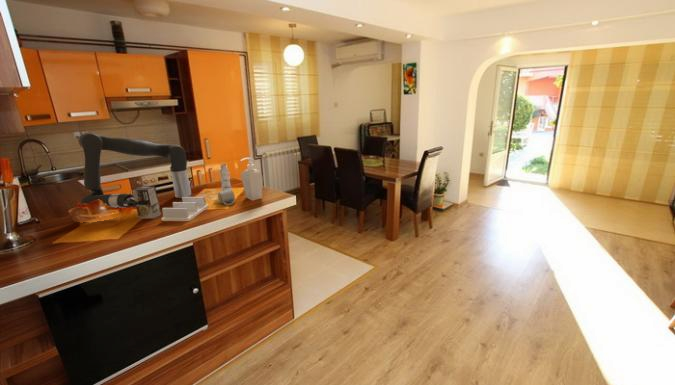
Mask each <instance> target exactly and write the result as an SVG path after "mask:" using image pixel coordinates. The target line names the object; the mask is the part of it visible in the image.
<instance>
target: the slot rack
mask: <svg viewBox="0 0 675 385" xmlns="http://www.w3.org/2000/svg"><path fill="white" fill-rule="evenodd" d="M181 199H182V201H179V202H178V201H173V202H172V207H162V209H161V211H162V215H163V217H161V218H160V219H161V222H190V221H192V220H194V218H196V217H197V216H198V215H200V214H201V213H202V212H204V211H205V210H207V209H208V208H209V204H206V203H207V202H206V197H205V196H188V197H182V198H181Z"/></svg>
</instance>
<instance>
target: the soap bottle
mask: <svg viewBox="0 0 675 385" xmlns="http://www.w3.org/2000/svg"><path fill="white" fill-rule="evenodd" d="M245 160H248V162H247V163H248V164H246V167H247V168H246V169H244V170H243V171H242V172H241V174H240V178H241V181H242V186H243V189H244V194H245V198H246V199H248V200H250V201H255V200H260V199H263V178H264V177H263V175H262V172H261V171H260V170H259V169H256V168H255V164H253V160H255V158H253V157H247V156H246V157H243V158H241V159H240V160H239V161H240V162H243V161H245Z"/></svg>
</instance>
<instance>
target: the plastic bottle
mask: <svg viewBox="0 0 675 385" xmlns="http://www.w3.org/2000/svg"><path fill="white" fill-rule="evenodd" d="M227 167H228V165H227V164H226V163H222V164H220V170H219V172H218V173H219V177H220V180H221V192H222V191H226V190H230V189H231V190H232V191H233V189H232V184H231V179H230V178H231V176H230V174H231V172H230V170H229V169H228V168H227Z"/></svg>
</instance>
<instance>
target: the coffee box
mask: <svg viewBox="0 0 675 385" xmlns="http://www.w3.org/2000/svg"><path fill="white" fill-rule="evenodd" d="M156 189H157V188H156V186H138V187H136V188H134V189H132V190H131V192H132V195H133V196H134V199H135V200H138V201H147V205H139V206H136V207H135V208H136V211H137V216H138V219H156V218H158V217H160V216H161V215H162V212H161V211H162V210H161V207H160V203H159V202H160V201H159V199H158V198H159V197H158V193H157V190H156Z"/></svg>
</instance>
